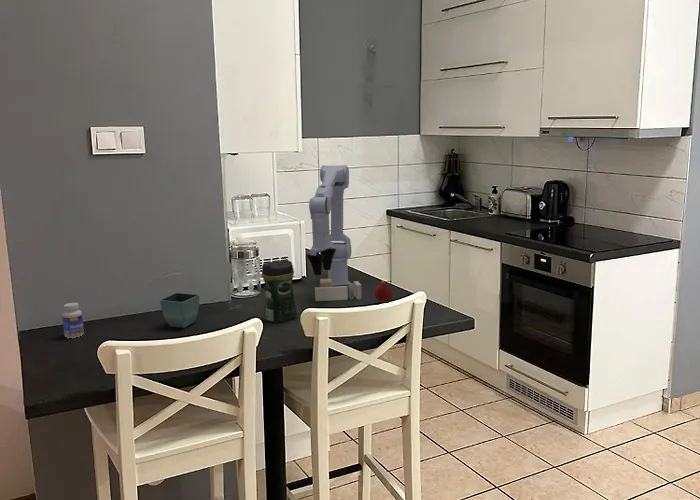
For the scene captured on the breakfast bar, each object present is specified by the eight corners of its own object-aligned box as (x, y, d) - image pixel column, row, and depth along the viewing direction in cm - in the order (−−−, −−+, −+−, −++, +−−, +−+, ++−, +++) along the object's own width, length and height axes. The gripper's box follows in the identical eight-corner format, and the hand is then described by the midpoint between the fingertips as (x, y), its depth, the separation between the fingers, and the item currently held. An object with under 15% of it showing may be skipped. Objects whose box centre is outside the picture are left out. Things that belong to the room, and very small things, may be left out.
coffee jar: (287, 313, 211) (284, 256, 208) (300, 318, 205) (297, 260, 201) (260, 319, 206) (257, 261, 202) (273, 325, 199) (270, 265, 196)
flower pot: (186, 330, 197) (183, 302, 195) (161, 328, 200) (158, 300, 198) (202, 322, 205) (200, 294, 203) (178, 319, 208) (175, 292, 206)
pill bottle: (72, 340, 191) (68, 308, 189) (60, 337, 194) (56, 305, 192) (88, 334, 196) (84, 303, 194) (76, 331, 199) (73, 300, 197)
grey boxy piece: (361, 299, 225) (361, 283, 224) (349, 300, 224) (348, 284, 223) (358, 295, 230) (357, 279, 229) (346, 296, 229) (345, 280, 228)
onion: (392, 301, 221) (392, 278, 219) (392, 306, 215) (391, 282, 213) (375, 301, 221) (374, 278, 220) (374, 306, 216) (373, 282, 214)
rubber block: (320, 294, 233) (320, 279, 232) (332, 293, 233) (331, 278, 232) (320, 298, 227) (320, 283, 226) (332, 298, 227) (331, 282, 226)
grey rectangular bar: (347, 298, 226) (347, 285, 225) (347, 299, 224) (347, 287, 223) (315, 299, 226) (315, 286, 225) (315, 301, 224) (314, 288, 223)
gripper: (322, 236, 211) (324, 277, 213) (340, 229, 224) (341, 268, 227) (303, 235, 213) (304, 276, 216) (321, 228, 227) (323, 267, 229)
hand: (322, 272), depth 221 cm, fingers open, 7 cm apart
